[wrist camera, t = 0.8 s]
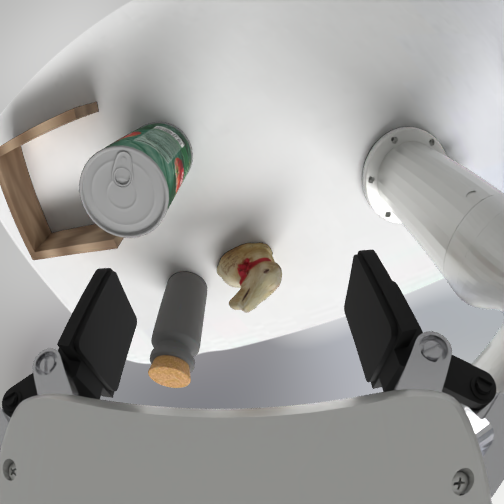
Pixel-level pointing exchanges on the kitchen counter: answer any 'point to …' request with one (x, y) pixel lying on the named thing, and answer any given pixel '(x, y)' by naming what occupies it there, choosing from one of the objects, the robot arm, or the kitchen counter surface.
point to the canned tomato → (135, 179)
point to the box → (27, 205)
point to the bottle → (178, 330)
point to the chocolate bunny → (250, 274)
